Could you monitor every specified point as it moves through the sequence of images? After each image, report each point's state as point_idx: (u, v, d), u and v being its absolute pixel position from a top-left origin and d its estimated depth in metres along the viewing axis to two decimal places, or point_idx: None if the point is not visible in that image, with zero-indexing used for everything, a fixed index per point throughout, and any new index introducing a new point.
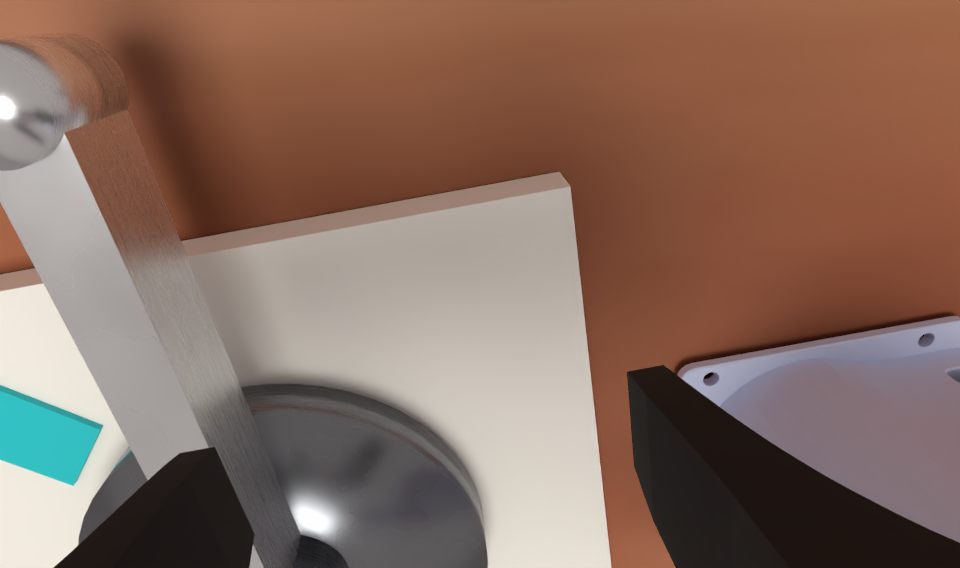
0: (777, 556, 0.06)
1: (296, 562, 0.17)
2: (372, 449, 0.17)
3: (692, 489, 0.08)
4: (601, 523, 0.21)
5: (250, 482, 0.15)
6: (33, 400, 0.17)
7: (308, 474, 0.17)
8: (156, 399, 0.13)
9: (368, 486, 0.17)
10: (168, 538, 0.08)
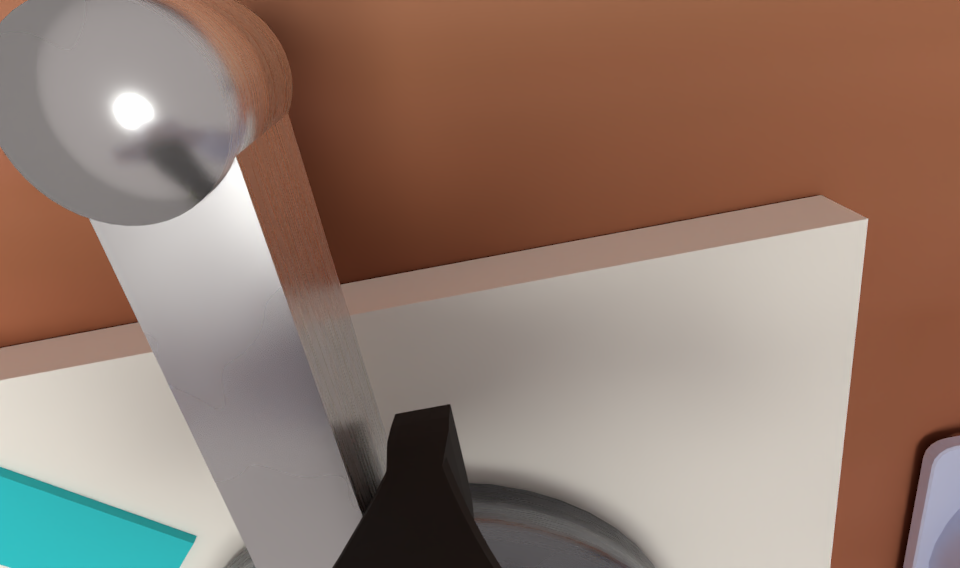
0: None
1: None
2: None
3: None
4: None
5: None
6: (106, 507, 0.13)
7: None
8: (332, 562, 0.08)
9: None
10: None
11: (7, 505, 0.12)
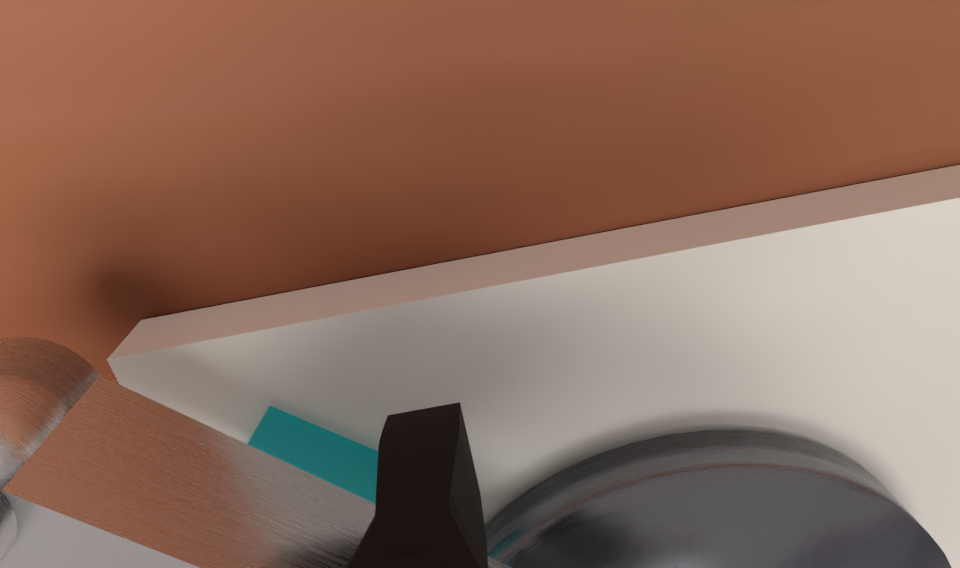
0: None
1: None
2: (673, 511, 0.12)
3: None
4: None
5: None
6: None
7: None
8: None
9: (703, 550, 0.12)
10: (460, 485, 0.08)
11: (292, 453, 0.12)
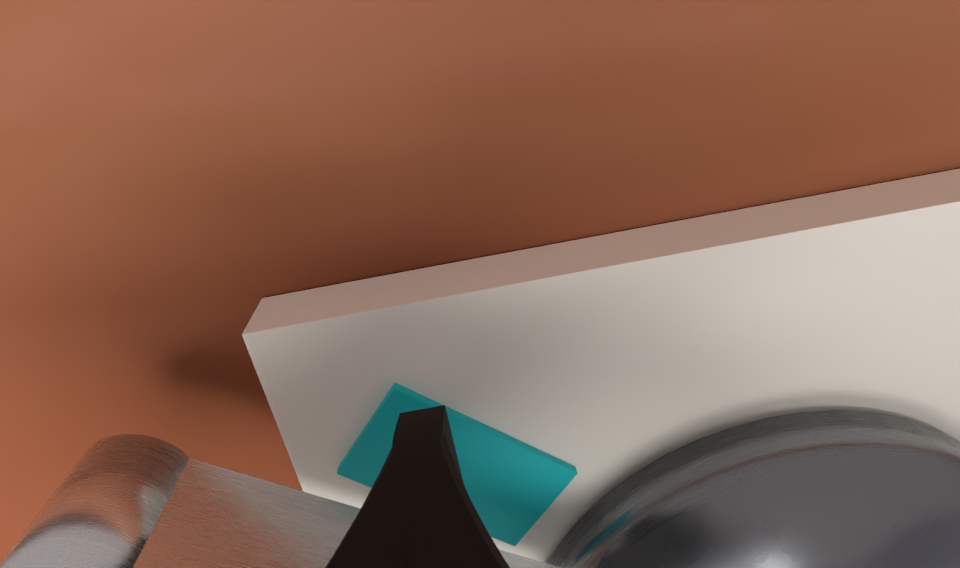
0: None
1: None
2: (745, 504, 0.12)
3: None
4: None
5: None
6: (502, 435, 0.13)
7: None
8: None
9: (783, 537, 0.12)
10: None
11: None
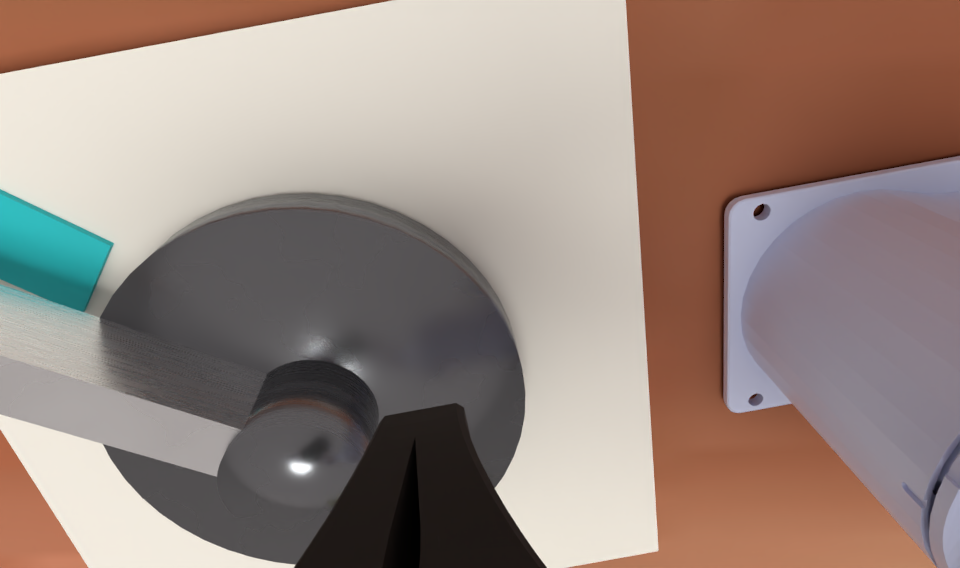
0: None
1: (259, 392, 0.16)
2: (197, 251, 0.15)
3: None
4: (642, 375, 0.20)
5: (113, 359, 0.15)
6: (38, 209, 0.16)
7: (195, 321, 0.16)
8: None
9: (243, 284, 0.16)
10: (413, 494, 0.08)
11: None
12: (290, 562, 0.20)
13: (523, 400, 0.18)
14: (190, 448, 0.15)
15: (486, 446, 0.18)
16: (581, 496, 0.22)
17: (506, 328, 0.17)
